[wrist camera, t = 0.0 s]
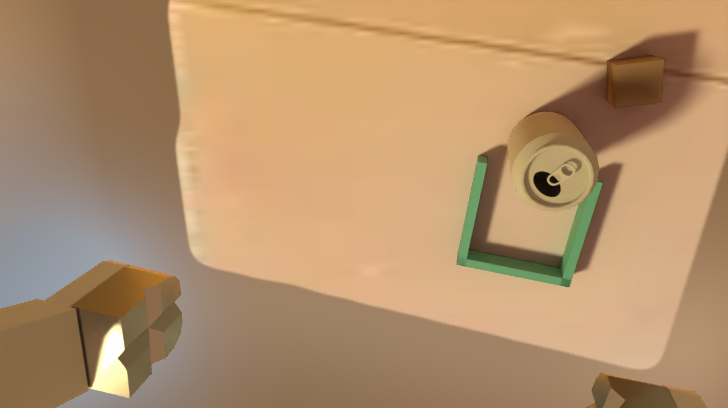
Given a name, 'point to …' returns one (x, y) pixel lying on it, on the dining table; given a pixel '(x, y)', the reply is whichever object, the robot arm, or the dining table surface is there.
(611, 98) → the walnut block
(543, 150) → the can
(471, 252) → the corral
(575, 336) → the dining table surface
